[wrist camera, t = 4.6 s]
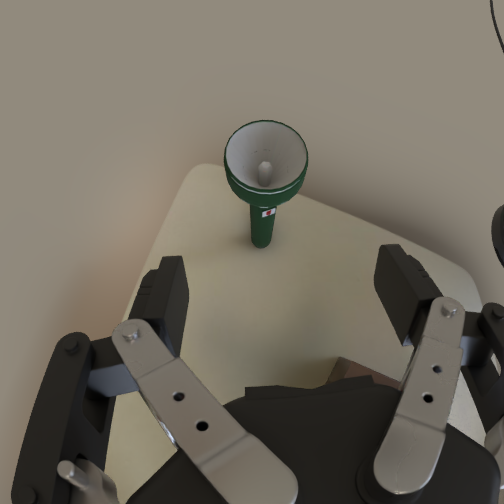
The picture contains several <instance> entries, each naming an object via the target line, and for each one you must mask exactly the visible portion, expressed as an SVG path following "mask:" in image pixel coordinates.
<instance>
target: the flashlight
mask: <svg viewBox="0 0 504 504" xmlns="http://www.w3.org/2000/svg"><path fill="white" fill-rule="evenodd" d="M224 166H225V171H226V176H227V180H228V183H229V185H230V187H231V189H232V191H233V192H234V193H235V194H236V195H237V196H238V197H239V198H240V199H242V200H243V201H244V202H246V203H248V204H250V218H251V239H252V243H253V244H254V246H256V247H257V248H265V247H267V246H268V245H269V243H270V241H271V236H272V230H273V225H274V219H275V213H276V208H277V206H279V205H281V204H283V203H285V202H287V201H289V200H290V199H291V198H292V197H293V196H295V195H296V194H297V192H298V190H299V189H300V188H301V186H302V184H303V181H304V177H305V174H306V170H307V167H308V151H307V148H306V145H305V142H304V141H303V139H302V138H301V136H300V135H299V134H298V133H297V132H296V131H295V130H294V129H292V128H291V127H289V126H287V125H285V124H283V123H281V122H277V121H273V120H259V121H254V122H251V123H248V124H246V125H243V126H242V127H240V128H239V129H238V130H236V131H235V132H234V133H233V135H232V136H231V137H230V138H229V140H228V142H227V145H226V147H225V153H224Z"/></svg>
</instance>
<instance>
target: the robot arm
mask: <svg viewBox="0 0 504 504" xmlns="http://www.w3.org/2000/svg"><path fill="white" fill-rule="evenodd" d="M490 7H491V14H492V18H493V23H494V27H495V30H496V33H497V36H498V39H499V42H500V44H501V47H502V50H503V53H504V45H503V42H502V39H501V36H500V34H499V31H498V27H497V24H496V20H495V16H494V10H493V1H492V0H490ZM374 286H375V290H376V292H377V294H378V296H379V298H380V300H381V302H382V304H383V306H384V308H385V310H386V312H387V314H388V317H389V319H390V321H391V323H392V325H393V327H394V329H395V331H396V334H397V336H398V338H399V340H400V342H401V345H402V346H407V345H413V346H414V350H413V352H412V355H411V357H410V360H409V363H408V365H407V368H406V371H405V373H404V376H403V378H402V381H401V383H400V386H399V388H398V389H396V388H394V387H391V386H388V385H384V384H378V383H374V381H373V377H372V374H371V375H364V376H358V377H351V378H344V379H340V380H337V381H335V382H332V383H329V384H326V385H324V386H321V387H318V388H315V389H302V388H294V387H286V386H278V385H276V386H260V387H245V396H244V397H241V398H238V399H235V400H233V401H231V402H229V403H227V404H225V405H223V406H222V405H221V404H220V403H219V402H218V401H217V399H216V398H215V397H214V396H213V395H212V394H211V393H210V392H209V390H208V389H207V388H206V387H205V386H204V385H203V384H202V382H201V381H200V380H199V379H198V378H197V377H196V375H195V374H194V373H193V372H192V371H191V369H190V368H189V367H188V366H187V365H186V364H185V362H184V361H183V360H182V359H181V358H180V350H181V344H182V338H183V332H184V326H185V320H186V315H187V309H188V303H189V288H188V283H187V278H186V273H185V268H184V263H183V258H182V256H166V257H162V260H161V262H160V265H159V268H158V269H154V270H150V271H149V272H148V273H147V274H146V275H145V276H144V277H143V279H142V282H141V285H140V288H139V290H138V292H137V296H136V298H135V301H134V303H133V306H132V309H131V312H130V314H129V317H128V320H126V321H124V322H122V323H120V324H119V325H118V326H117V327H116V328H115V329H114V331H113V333H112V336H110V337H107V338H103V339H99V340H95V341H90V340H89V337H88V336H87V335H86V334H84V333H81V332H74V333H70V334H68V335H66V336H64V337H63V338H61V339H60V341H59V342H58V343H57V345H56V347H55V349H54V352H53V354H52V357H51V359H50V362H49V364H48V367H47V370H46V372H45V375H44V378H43V381H42V383H41V386H40V389H39V392H38V395H37V398H36V401H35V404H34V407H33V410H32V413H31V416H30V420H29V423H28V426H27V430H26V433H25V437H24V440H23V444H22V448H21V451H20V455H19V459H18V463H17V468H16V472H15V476H14V481H13V486H12V491H11V499H12V504H120V503H119V501H118V498H117V489H116V485H115V483H114V481H113V480H112V479H111V478H110V477H109V476H108V475H107V474H105V473H104V469H105V462H106V455H107V448H108V441H109V435H110V429H111V423H112V417H113V412H114V406H115V401H116V396H117V395H121V394H125V393H130V392H134V391H138V392H139V394H140V395H141V397H142V398H143V400H144V401H145V403H146V405H147V406H148V408H149V409H150V411H151V412H152V414H153V415H154V417H155V418H156V420H157V421H158V423H159V424H160V426H161V427H162V429H163V430H164V432H165V433H166V435H167V436H168V438H169V439H170V441H171V442H172V443H173V445H174V446H175V448H176V449H177V450H178V451H177V452H176V453H175V454H174V455H173V456H172V457H171V458H170V459H169V460H168V461H167V462H166V463H165V464H164V465H163V466H162V467H161V468H160V469H159V470H158V471H157V472H156V473H155V474H154V475H153V476H152V477H151V478H150V479H149V480H148V481H147V482H145V483H144V484H143V485H142V486H141V487H140V488H139V489H138V490H137V491H136V492H135V493H134V494H133V495H132V496H131V497H130V498H129V499H128V501H127V502H126V504H498V499H499V492H500V489H502V488H504V307H503V306H501V305H500V304H497V303H487V304H485V305H484V306H483V308H482V311H481V313H477V312H468V311H465V310H464V307H463V306H462V305H461V304H460V303H459V302H458V301H456V300H455V299H452V298H449V297H444V296H443V295H442V293H441V292H440V290H439V289H438V287H437V286H436V284H435V283H434V282H433V280H432V279H431V277H429V275H428V273H427V272H426V271H425V269H424V268H423V266H422V265H421V263H420V262H419V261H418V260H416V259H415V258H413V257H412V256H411V255H407V254H406V253H405V252H404V250H403V249H402V247H401V246H400V245H399V244H388V245H381V246H380V248H379V253H378V258H377V263H376V269H375V274H374ZM493 353H494V354H495V355H496V357H497V359H498V361H499V363H500V366H501V374H500V376H499V374H498V372H497V370H496V368H495V366H494V364H493V362H492V360H491V357H492V355H493ZM460 370H461V372H462V374H463V376H464V379H465V381H466V383H467V386H468V388H469V391H470V393H471V396H472V398H473V400H474V403H475V406H476V408H477V411H478V413H479V416H480V419H481V421H482V424H483V427H484V430H485V432H486V437H485V441H484V447H485V448H484V447H483V446H481V445H480V444H478V443H477V442H475V441H474V440H472V439H471V438H469V437H468V436H466V435H465V434H463V433H462V432H461V431H459V430H458V429H456V428H455V427H453V426H452V425H450V424H449V423H447V420H448V417H449V413H450V410H451V406H452V402H453V398H454V394H455V390H456V386H457V382H458V377H459V373H460Z"/></svg>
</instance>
